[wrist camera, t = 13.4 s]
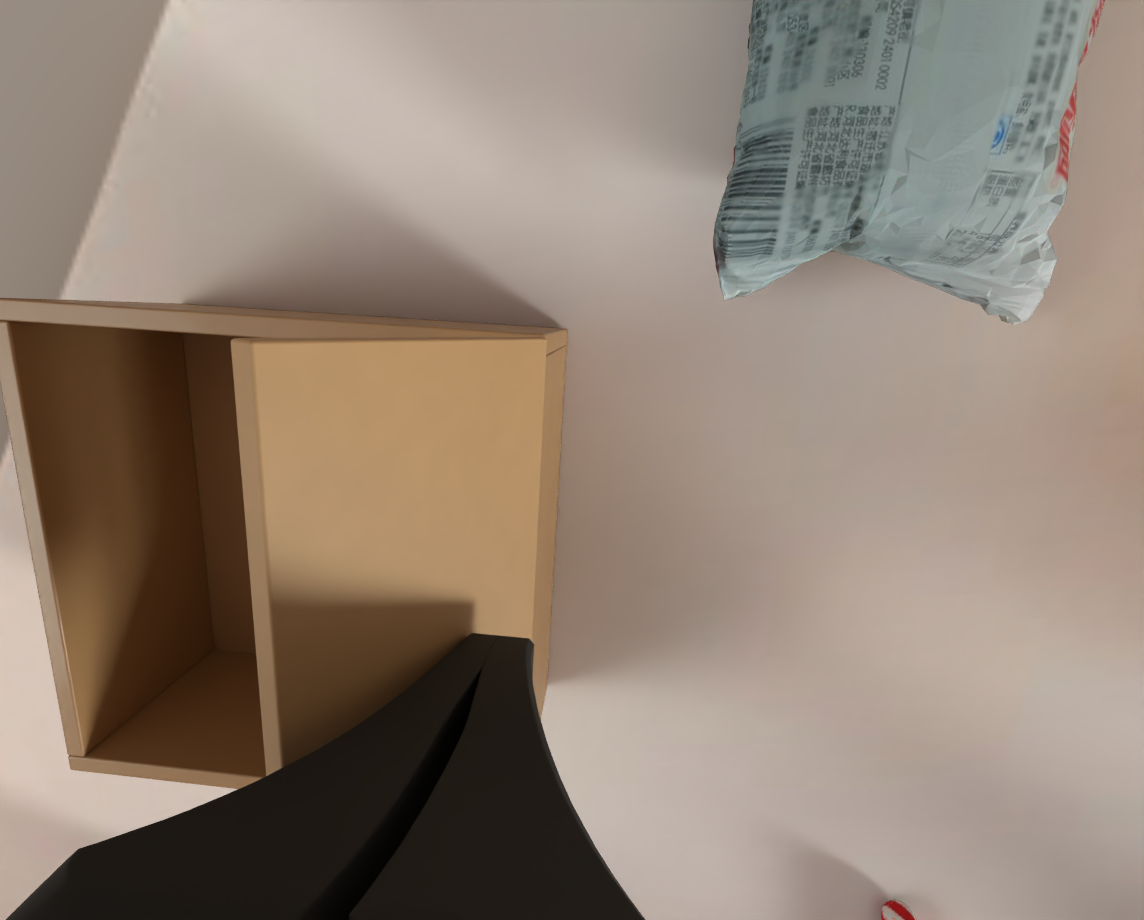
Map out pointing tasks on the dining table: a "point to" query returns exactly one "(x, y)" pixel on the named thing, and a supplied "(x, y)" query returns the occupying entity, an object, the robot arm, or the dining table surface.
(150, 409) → the cardboard box
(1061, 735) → the dining table surface
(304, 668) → the box flap
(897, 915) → the candy cane
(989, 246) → the packaged food
